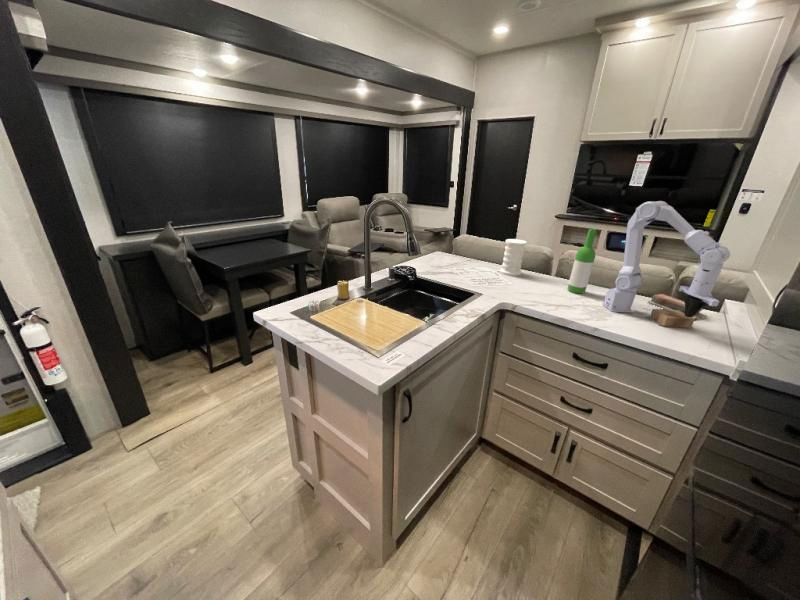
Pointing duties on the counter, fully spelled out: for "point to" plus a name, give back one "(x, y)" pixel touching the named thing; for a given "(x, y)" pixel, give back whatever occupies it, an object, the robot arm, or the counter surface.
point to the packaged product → (672, 304)
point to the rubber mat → (654, 320)
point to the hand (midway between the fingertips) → (688, 316)
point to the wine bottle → (582, 265)
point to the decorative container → (513, 257)
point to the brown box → (671, 318)
